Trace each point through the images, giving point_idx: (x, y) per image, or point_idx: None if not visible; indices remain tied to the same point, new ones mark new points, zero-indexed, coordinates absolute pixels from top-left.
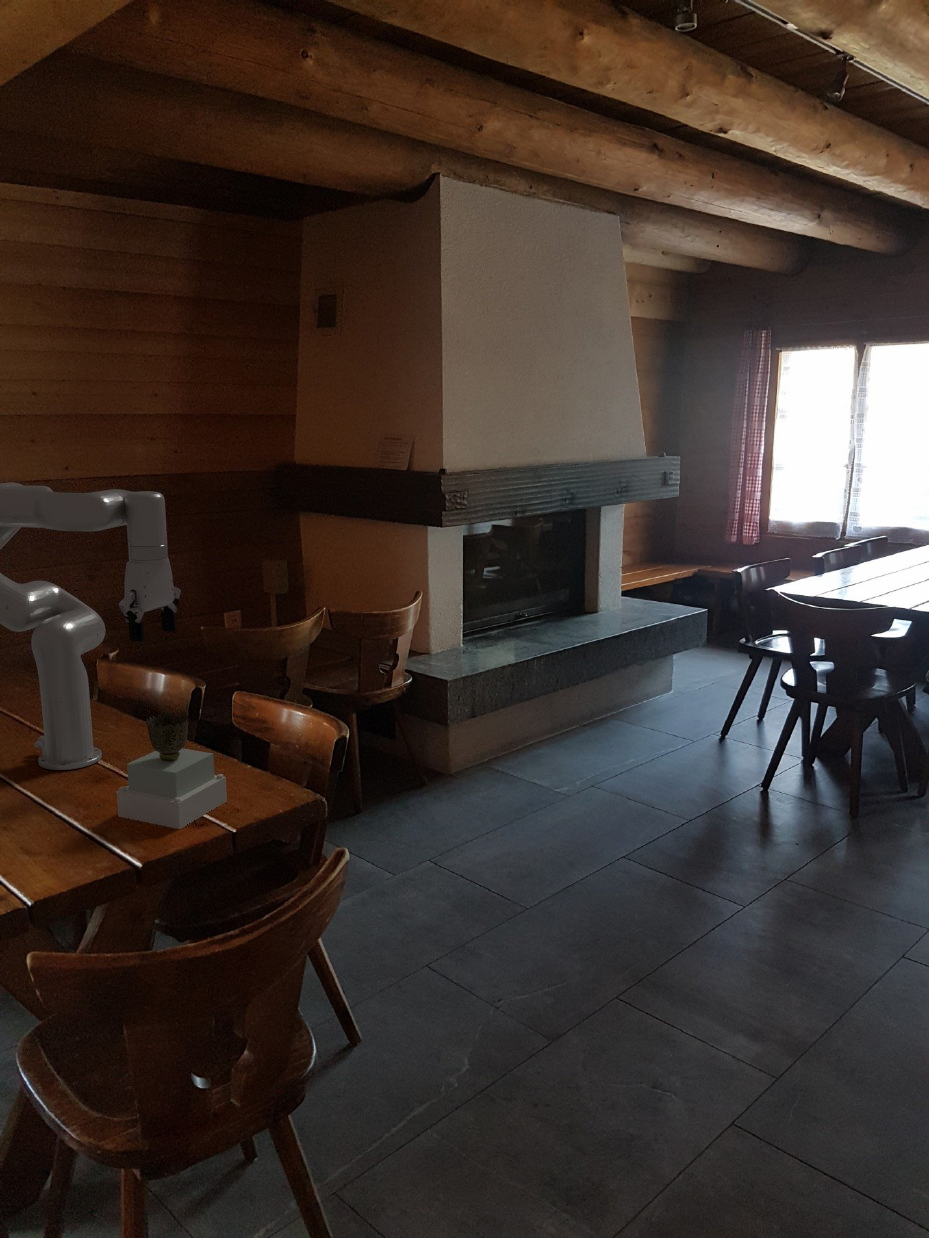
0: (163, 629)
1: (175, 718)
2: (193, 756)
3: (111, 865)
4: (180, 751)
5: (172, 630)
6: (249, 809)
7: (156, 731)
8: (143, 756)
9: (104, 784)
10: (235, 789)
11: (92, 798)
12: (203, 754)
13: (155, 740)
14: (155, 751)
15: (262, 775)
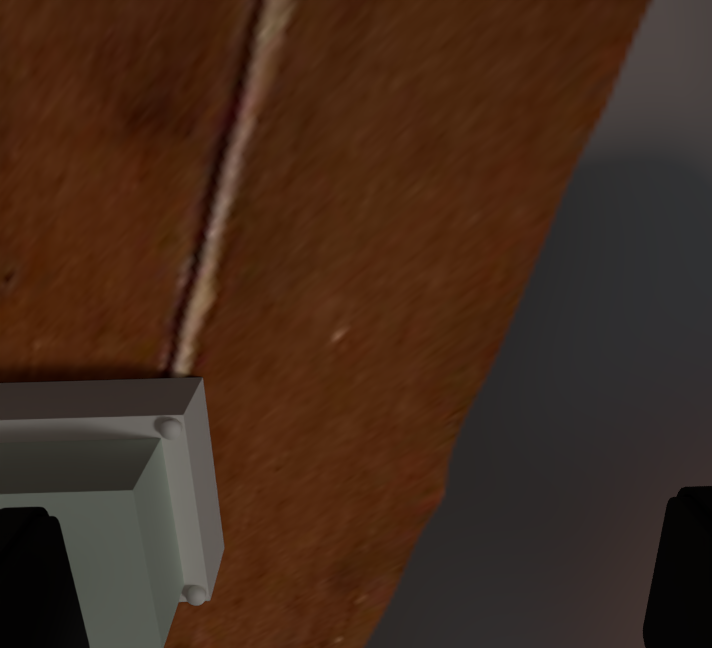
0: (674, 523)
1: None
2: (106, 620)
3: None
4: (115, 563)
5: (649, 645)
6: (214, 611)
7: None
8: (2, 495)
9: (129, 163)
10: (300, 521)
11: (27, 219)
12: (138, 633)
13: None
14: (64, 497)
15: (417, 523)
